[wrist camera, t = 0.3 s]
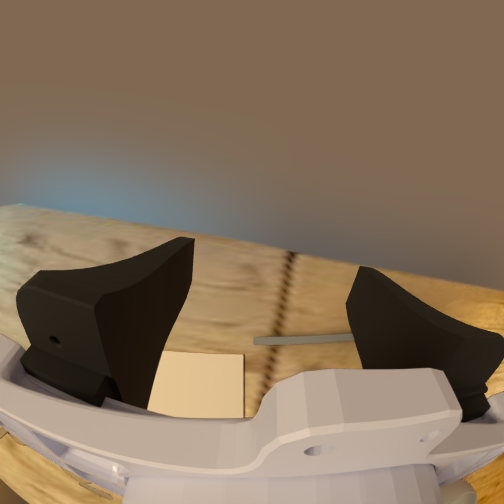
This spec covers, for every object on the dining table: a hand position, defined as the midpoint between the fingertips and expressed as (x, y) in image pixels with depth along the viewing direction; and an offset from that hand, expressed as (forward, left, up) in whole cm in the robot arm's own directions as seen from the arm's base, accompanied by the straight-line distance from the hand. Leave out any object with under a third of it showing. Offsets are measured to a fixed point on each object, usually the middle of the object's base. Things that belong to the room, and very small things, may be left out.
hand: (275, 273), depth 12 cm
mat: (-12, +10, -29) cm, 33 cm away
